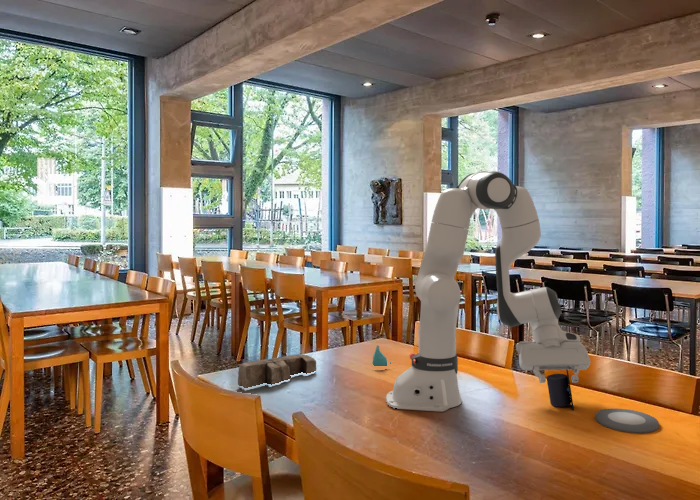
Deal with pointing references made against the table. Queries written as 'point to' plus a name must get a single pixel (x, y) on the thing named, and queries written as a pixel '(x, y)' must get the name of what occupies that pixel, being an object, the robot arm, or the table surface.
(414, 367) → the robot arm
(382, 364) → the teal tapered piece
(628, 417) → the speaker stand
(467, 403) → the table surface
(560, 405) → the speaker
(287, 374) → the sculpture
